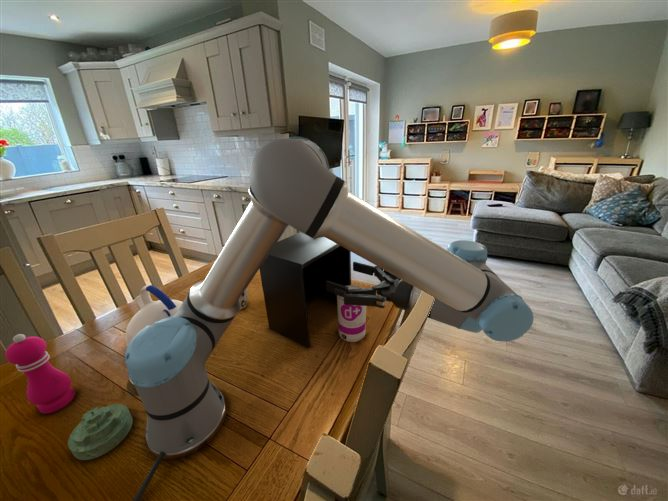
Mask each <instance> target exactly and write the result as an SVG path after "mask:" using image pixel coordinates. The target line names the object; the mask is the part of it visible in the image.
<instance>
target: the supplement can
mask: <svg viewBox="0 0 668 501" xmlns="http://www.w3.org/2000/svg"><path fill="white" fill-rule="evenodd" d="M346 287H348V289H361V288H362V287H360V286H359V285H352V284H351V285H349V286H346ZM350 294H351V293H350ZM336 304H337V306H336V307H337V326H338V327H337V328H338V329H337V330H338V335H339V337H340V338H341V339H342V340H344V341H346V342H348V343H349V342H350V343H357V342H359V341H360V340H362V339H363V338H365V335H367V334H366V333H367V332H366V330H367V326H366V325H367V322H366V321H367V320H366V319H367V306H359V305H345V304H344V297H341V296H338V295H337V303H336Z"/></svg>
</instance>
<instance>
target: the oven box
mask: <svg viewBox="0 0 668 501" xmlns="http://www.w3.org/2000/svg"><path fill="white" fill-rule="evenodd" d="M351 253H352V252H351V251H349V250H347V249H345V248H344V247H342V246H340V245H338V244H336V243H335V242H333V241H331V240H329V239H327V238H325V237H320V238H316V239H313V238H311V237H309V236H308V235H306V234H304V233H302V232H300V231H298V232H296V233H295V234H292V235H290V236H288V237H286V238H283V239H281V240H278V242H277V243H276V245H275V246H274V248H273V249H272V251H271V252H270V254H269V255H268V257H267V258H266V260H265V261H264V262H263V264H262V265H261V267H260V268H259V274H260V281H261V286H262V293H263V299H264V305H265V312H266V317H267V323H268V329H269V330H271V331H272V332H275V333H276V334H278V335H280V336H282V337H285V339H288V340H290V341H293V342H294V343H296V344H298V345H300V346H302V347H304V348H306V349H309V348H310V346H311V344H310V334H309V324H308V323H309V322H308V312H307V304H308V303H310V302H311V301H312V300H314V299H315V298H316V297H318V298H321V299H323V300H325V301H329V302H331V303H334V304H337V295H335V293H332V292H329V291H326V281H330V282H334V283H337V284H340V285H343V286H349V285H352V259H351V258H352V254H351Z"/></svg>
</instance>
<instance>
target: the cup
mask: <svg viewBox="0 0 668 501" xmlns="http://www.w3.org/2000/svg"><path fill="white" fill-rule="evenodd" d="M239 301H240V309H239V311H240V310H243V309H244V308H246V306H247V304H248V287H247V288H246V289H245V291H244V292H243V294H242V295H241V297H240V298H239Z"/></svg>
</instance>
